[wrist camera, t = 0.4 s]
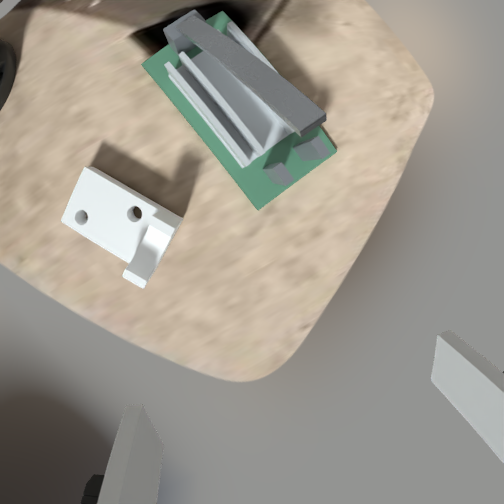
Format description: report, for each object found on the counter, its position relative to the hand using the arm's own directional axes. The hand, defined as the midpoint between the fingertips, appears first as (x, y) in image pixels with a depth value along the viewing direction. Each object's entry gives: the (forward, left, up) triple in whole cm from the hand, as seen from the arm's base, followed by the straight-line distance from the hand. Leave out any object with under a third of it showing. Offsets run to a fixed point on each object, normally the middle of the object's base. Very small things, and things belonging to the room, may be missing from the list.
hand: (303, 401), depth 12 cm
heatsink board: (-14, +10, -27) cm, 32 cm away
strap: (-16, +10, -16) cm, 24 cm away
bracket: (-12, -9, -28) cm, 32 cm away
